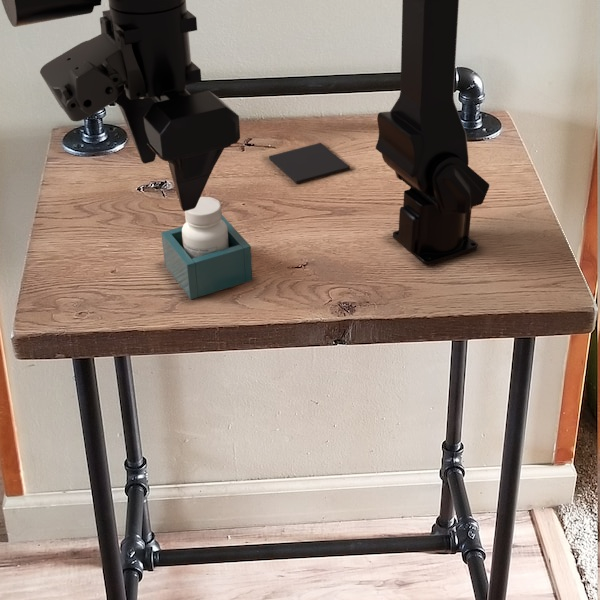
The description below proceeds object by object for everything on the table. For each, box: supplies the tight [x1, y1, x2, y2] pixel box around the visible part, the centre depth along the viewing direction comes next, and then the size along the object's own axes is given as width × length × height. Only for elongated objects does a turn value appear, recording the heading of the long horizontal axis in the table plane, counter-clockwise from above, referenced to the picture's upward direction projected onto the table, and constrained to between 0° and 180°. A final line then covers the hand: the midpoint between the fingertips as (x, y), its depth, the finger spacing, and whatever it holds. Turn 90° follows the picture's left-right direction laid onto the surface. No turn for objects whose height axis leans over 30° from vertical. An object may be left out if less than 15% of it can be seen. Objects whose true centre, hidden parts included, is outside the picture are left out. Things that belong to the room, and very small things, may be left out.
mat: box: [268, 142, 351, 185], centre depth 115 cm, size 7×7×1 cm
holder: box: [160, 214, 254, 300], centre depth 96 cm, size 7×7×4 cm
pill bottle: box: [181, 196, 229, 259], centre depth 95 cm, size 4×4×8 cm
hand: (167, 184), depth 83 cm, fingers open, 9 cm apart
